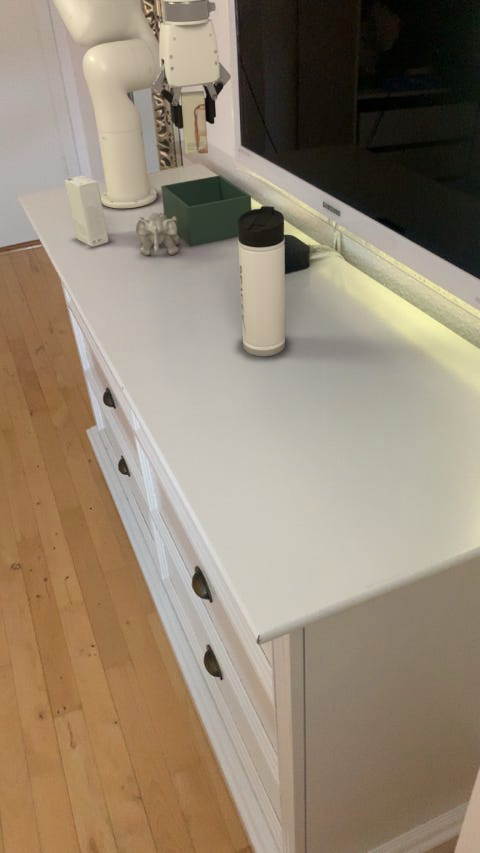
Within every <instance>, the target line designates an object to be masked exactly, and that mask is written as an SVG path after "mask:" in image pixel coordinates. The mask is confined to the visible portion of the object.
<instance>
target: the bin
mask: <svg viewBox="0 0 480 853" xmlns="http://www.w3.org/2000/svg"><path fill="white" fill-rule="evenodd" d="M160 188H161V198H162V206H163V214H164V216H167V219H172V218H173V217H174V216H176V217H177V219H178V222H177V223H175V224H176V226H177V233H178V235H179V237H180V238H182V239H183V240H184V241H185V242H186V243H187V244H188V245H189V246H190V247H194V246H198V245H202V244H207V243H212V242H216V241H222V240H225V239H226V240H227V239H231V238H236V237H238V236H239V233H238V219H239V217H240V216H241V215H242V214H243V213H245V212H247V211H250V210H252V196H251V194H249V193H247V192H246V191H244V190H243V189H241V188H240V187H239V186H237V185H235V184H234V183H233V182H231V181H230V180H228V179H227V178H225V177H224V176H222V175H219V174H218V175H214V176H208V177H203V178H197V179H192V180H187V181H180V182H175V183H170V184H164V185H161V186H160Z"/></svg>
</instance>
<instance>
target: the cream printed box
mask: <svg viewBox="0 0 480 853" xmlns="http://www.w3.org/2000/svg"><path fill="white" fill-rule="evenodd" d="M205 98H206V95H205V91H204V90H193V91H181V94H180V105H181V106H182V115H183V128H182V131H183V144H184V153H185V155H199V154H208V152H209V150H208V149H209V148H208V132H207V121H206V113H205Z"/></svg>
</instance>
